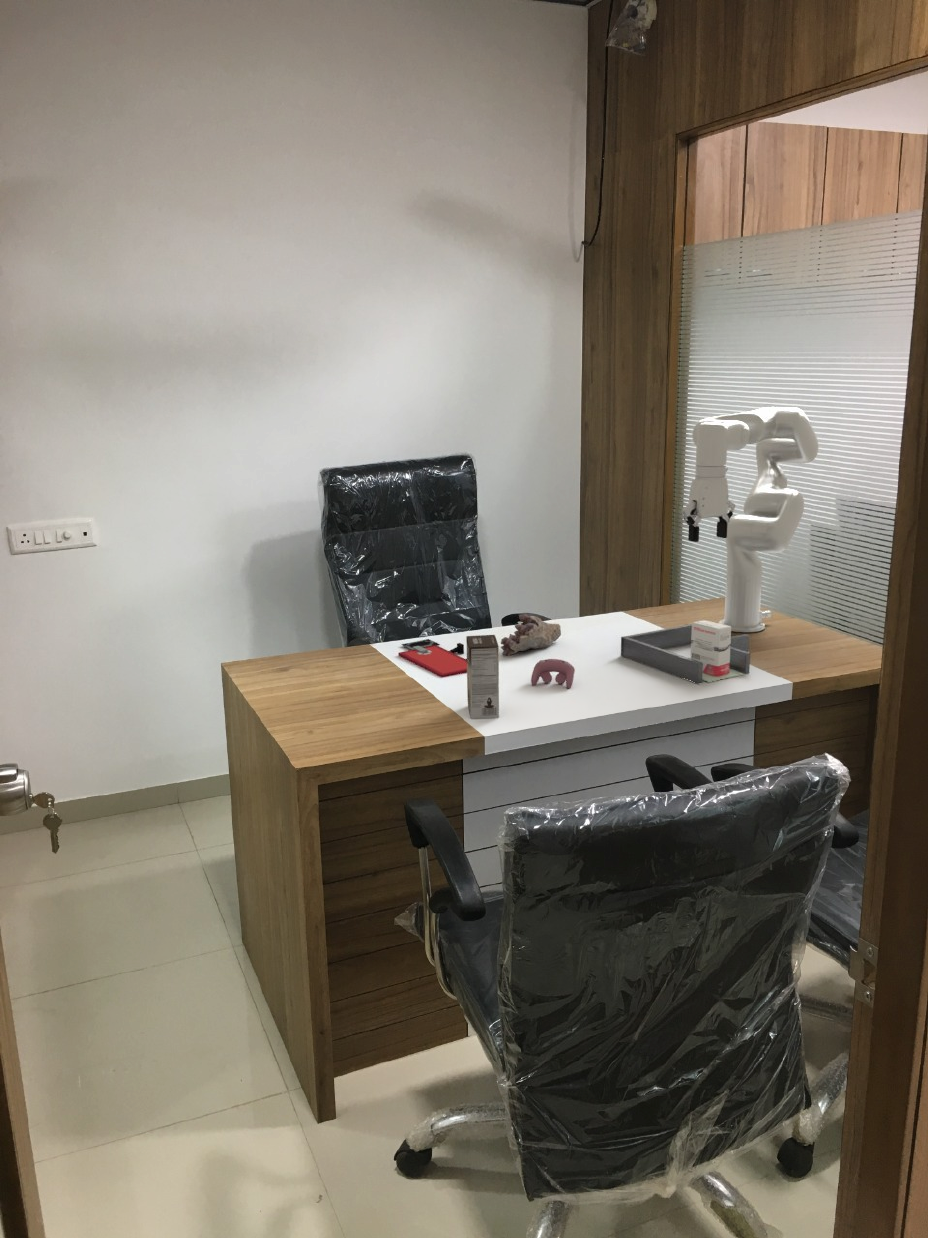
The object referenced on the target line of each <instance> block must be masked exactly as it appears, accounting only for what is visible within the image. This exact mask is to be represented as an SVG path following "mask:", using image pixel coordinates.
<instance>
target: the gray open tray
mask: <svg viewBox="0 0 928 1238" xmlns="http://www.w3.org/2000/svg"><path fill="white" fill-rule="evenodd" d="M691 634H692V623H690V624H683V625H679V626H674V627H673V626H672V627H668V628H661V629H657V630H652V631H647V632H641V633H635V634H630V635H626V636H625V635H624V636H621V637H620V639H621V641H620V657H623V658H625V659H628V660H631V661H634V662H637V663H639V664H643V665H644V666H647V667H650V668H652V669H655V670H657V671H661V672H663V673H666V674H670V675H672V676H674V675H675V677H676V678H677V677H678V678H680V679H682V678H685V679H688V680H691V681H693V682H695V683H694V684H696V683H702V684H703V681H702V673H703V663H702V662H699V661H696V660H693V659H690V657H687V656H685V655H682V654H678V653H675V652H672V651H670V650H668V649H671V648H677V647H682V646H687V645H691ZM749 647H750V634H747V633H744V634H743V633H742V634H737V635H735V636H731V645H730V668H729V669H731V670H734V671H737V672H740V673H743V674H749V673H750V667H751V652H750V651H749V649H750V648H749ZM666 649H667V650H666ZM685 679H684V680H685ZM688 680H687V681H688ZM691 681H690V682H691ZM693 682H692V683H693Z"/></svg>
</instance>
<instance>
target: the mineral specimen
mask: <svg viewBox="0 0 928 1238" xmlns="http://www.w3.org/2000/svg"><path fill="white" fill-rule="evenodd" d="M518 618H519V620H520V621H521V623H520V624H519V623H518V624H515V625H514V628H515V629H516V630H515V631H514V632H513V634H512V633H509V637H508V636H507V637H506V636H505V637H503V638H501V641H500V644H501V645H502V646H500V649H501V650H502V652H501V653H502V656H507V657H511V655H514V654H516V653H517V652H519V651H523V652H525V651H526V650H529V649H535V650H537V648H538V649H544V648H543V647H545V648H548V647H550V646H551V644H553V643H554V642H556V641H557V640H558V639H559V638H560V637H561V636H562V631H561V630H562V629H561V625H560V624H559V623H549V622H546V621H542V619H541V618H540V617H538V616H535V615H528V614H526V613H523V614H518Z"/></svg>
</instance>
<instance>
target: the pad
mask: <svg viewBox="0 0 928 1238" xmlns="http://www.w3.org/2000/svg"><path fill="white" fill-rule="evenodd" d="M743 674H744V673H742V672H739V671H736V670H733V669H730V668H729V673H728V674H725V675H721V676H718V677H716V676H713V675H709V674H706V673H702V680H704V681H703V682H705V681H707V682H710V683H713V682H712V681H714V682H716V681H715V680H719V681H721V680H720V679H723V680H726V679H725V678H728V679H731V678H736V677H740V676H743ZM707 682H706V683H707Z"/></svg>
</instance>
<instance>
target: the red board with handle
mask: <svg viewBox="0 0 928 1238" xmlns="http://www.w3.org/2000/svg"><path fill="white" fill-rule="evenodd" d="M440 645H441V644H440V643H438V642H435V641H433V640H431V639H429V638H427V639H422V640H417V641H413V642H412V641H411V642H408V643H401V646H404V647H405V648H408V649H409V650H405V651H400V652H398V657H400V658H402V659H404V660H406V661H408V662H410V663H412V664H414V665H416V666H418V667H419V668H422V669H424V670H426V671H428V672H430V673H432V674H434V675H436V676H438V677H440V678H446V677H452V676H458V675H463V674H467V658H464V657H462V656H460V655H464V654H465V648H464V647H465V646H464V645H465V644H464V643H461V642H458V643H456V647H454V648H452V649H450V650H447V649H445V648H443V647H441V646H440ZM456 653H457V654H459V655H457V654H456Z"/></svg>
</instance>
